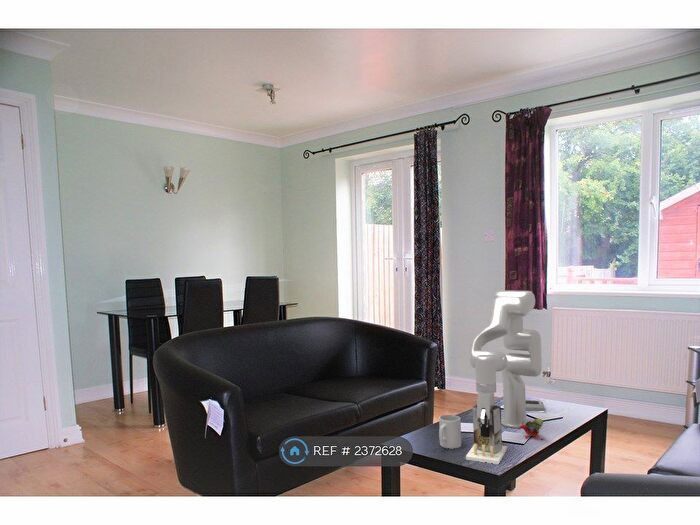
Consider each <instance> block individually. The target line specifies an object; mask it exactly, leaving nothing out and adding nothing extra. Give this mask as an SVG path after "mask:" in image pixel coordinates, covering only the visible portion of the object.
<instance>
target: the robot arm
mask: <svg viewBox="0 0 700 525" xmlns="http://www.w3.org/2000/svg"><path fill="white" fill-rule="evenodd" d="M535 296H536V295H535V294H534V293H533V292H532V291H530V290H499V291H496V292H495V293H494V295H493V300H492V301H491V307H490V313H489V318H488V321H487V322H488V323H487V326H486V328H484V329H483V330H481V332H479V333H478V334H477V335H476V336H475V338H474V340H473V341H472V345H471V348H470V349H471V350H470V354H469V363H470V366H471V368H473V369H475V391H476V392H477V401H476V403H477V404H476V405H477V417H478V418H480V417H481V436H482V437H490V431H489V426H488V425H489V419H490V410H491V409H492V408H493V406H494V405H495V404H496V403H495V402H496V401H495V393H497V375H496V374H497V373H496V372H501V375H502V376H501V377H502V393H503V394H502V396H503V397H502V398H503V399H502V401H503V404H502V405H503V417H501V426H504V427H507V428H514V429H520V428H519V427H520V426H522V422H523V425H526V423H527V421H530V420H528V419H527V412H526V400H527V398H526V383H525V381H524V380H523V379H522V377H533V378H535V377H536V378H537V377H538V376H540V375H541V373H542V363H543V362H542V338H541V335H540V332H539V331H537V330H535V329H525V328H524V317H526V316H527V315H529V313H530V312H532V310H533V309H534V307H535V305H536V298H535ZM502 337H503V346H504V348H506V349H507V350H511V351H512V350H513V351H524V352H528V353H520V352H506V353H503V352H501V351H495V350H494V351H493V350H485V349H484V350H482V348H483V347H484V346H485V345H486V344H487V343H490V342H491V341H494V340H497V339H499V338H502ZM521 376H522V377H521ZM495 406H496V405H495ZM485 414H486V415H487V416H488V417H487V418H485ZM485 420H487V423H486V421H485Z"/></svg>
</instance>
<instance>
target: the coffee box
mask: <svg viewBox="0 0 700 525" xmlns="http://www.w3.org/2000/svg"><path fill="white" fill-rule="evenodd" d="M471 408H472V426H473V428H472V429H473V445H474V444H477V449H481V450H482V445H485V451H490V446H493V452H494V453H496V452H497V451H499V450H500V449H502V446H503V440H502V439H503V436H502V434H503V433H502V424H501V419H502V411H501V410H502V409H501V406H499V405H494V406H493V408H492V409H491V410H490V419H489V425H488V426H489V431H490V437H482V436H481V417H480V418H478V417H477V404H475V405H474V406H472V407H471ZM487 417H488V416H487V415H486V414H485V418H487ZM485 421H486V423H487V420H485Z"/></svg>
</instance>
